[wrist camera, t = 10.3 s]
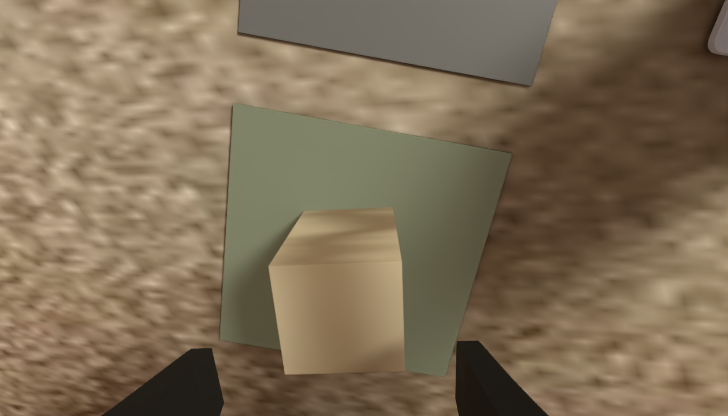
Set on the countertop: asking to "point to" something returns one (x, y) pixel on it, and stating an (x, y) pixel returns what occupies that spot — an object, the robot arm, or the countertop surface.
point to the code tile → (415, 31)
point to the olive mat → (354, 191)
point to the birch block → (340, 293)
